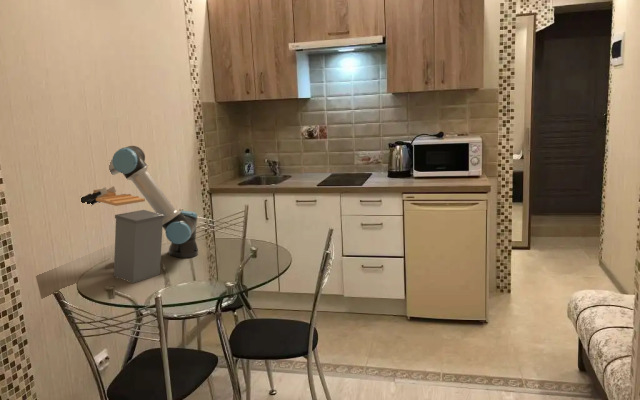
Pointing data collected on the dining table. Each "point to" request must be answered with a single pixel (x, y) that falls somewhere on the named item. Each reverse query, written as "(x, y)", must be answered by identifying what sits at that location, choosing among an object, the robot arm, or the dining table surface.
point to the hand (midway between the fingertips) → (110, 189)
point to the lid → (118, 198)
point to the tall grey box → (138, 245)
